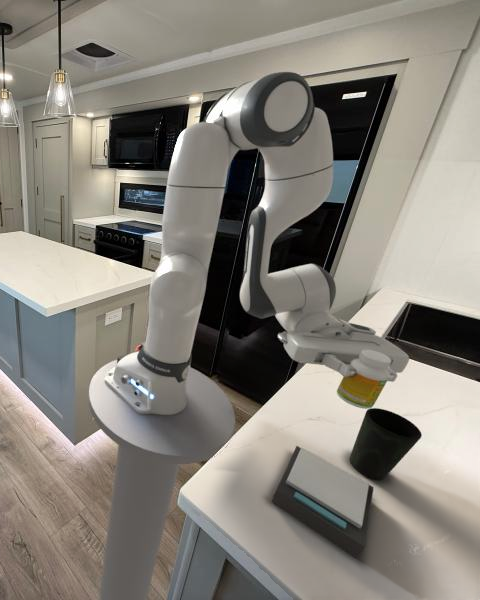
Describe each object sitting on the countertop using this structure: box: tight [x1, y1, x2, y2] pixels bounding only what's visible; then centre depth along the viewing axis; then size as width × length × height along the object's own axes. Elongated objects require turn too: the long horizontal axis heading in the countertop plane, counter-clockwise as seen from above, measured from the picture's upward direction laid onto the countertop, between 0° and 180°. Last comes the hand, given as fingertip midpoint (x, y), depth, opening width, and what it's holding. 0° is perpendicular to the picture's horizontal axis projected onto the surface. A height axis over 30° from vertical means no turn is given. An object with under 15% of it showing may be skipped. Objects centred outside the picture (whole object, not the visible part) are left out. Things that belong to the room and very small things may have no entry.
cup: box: [348, 407, 423, 481], centre depth 60 cm, size 8×8×12 cm
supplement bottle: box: [336, 350, 391, 410], centre depth 56 cm, size 5×5×10 cm
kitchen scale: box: [270, 445, 374, 559], centre depth 55 cm, size 12×14×4 cm
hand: (371, 376), depth 54 cm, fingers closed on supplement bottle, 5 cm apart
